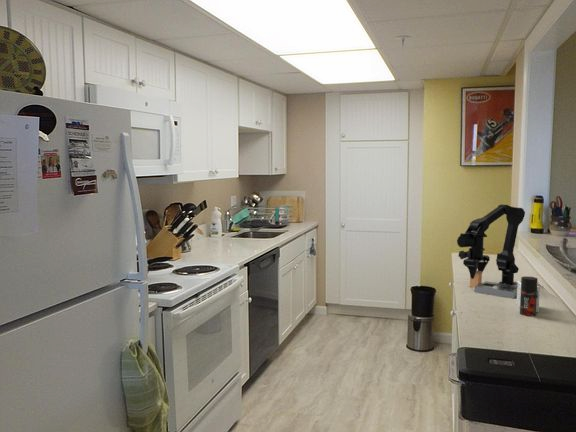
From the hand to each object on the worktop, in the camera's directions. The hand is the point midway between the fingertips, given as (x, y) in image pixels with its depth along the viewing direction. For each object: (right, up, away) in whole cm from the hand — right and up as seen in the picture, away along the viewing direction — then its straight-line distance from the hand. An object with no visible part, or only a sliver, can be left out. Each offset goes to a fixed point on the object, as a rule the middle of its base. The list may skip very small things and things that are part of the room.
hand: (476, 277), depth 256 cm
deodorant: (+4, -10, -47) cm, 48 cm away
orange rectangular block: (0, -5, 0) cm, 5 cm away
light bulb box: (+7, -9, -39) cm, 40 cm away
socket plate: (+7, -6, -11) cm, 14 cm away
